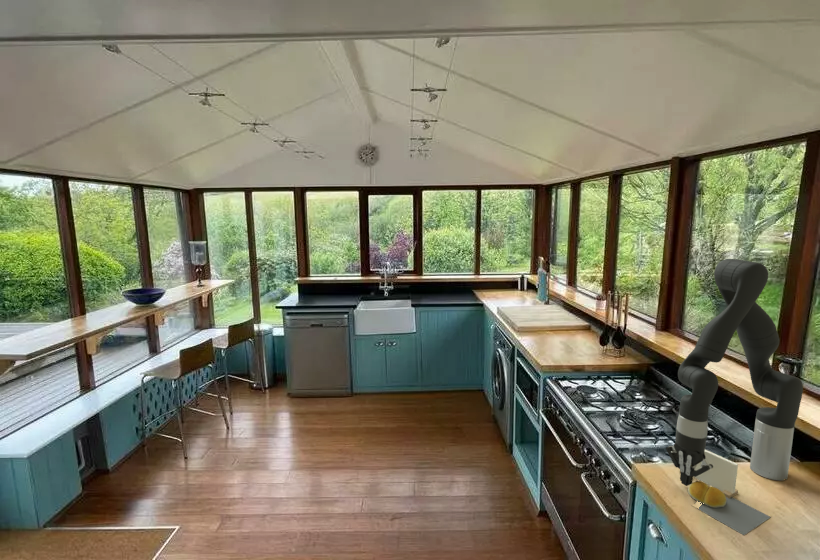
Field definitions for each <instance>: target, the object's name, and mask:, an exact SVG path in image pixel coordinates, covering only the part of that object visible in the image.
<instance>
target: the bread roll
mask: <svg viewBox="0 0 820 560" xmlns="http://www.w3.org/2000/svg"><path fill="white" fill-rule="evenodd" d="M687 493H688V495H689V497H691V498H692V499H693V500H695V501H696V502H697V501H698V502H701V503H704V504H705V505H707V506H709V507H714V508H717V507H724V506H725V505H726V497H725V495H724V493H723V492H722V491H720V490H719V489H717V488H715V487H712V486H710V485H708V484H706V483H704V482H703V481H701V480H699V481H698V480H697V481H694V482H692V484H690V485H688V488H687Z"/></svg>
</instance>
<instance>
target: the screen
mask: <svg viewBox="0 0 820 560" xmlns="http://www.w3.org/2000/svg"><path fill="white" fill-rule="evenodd" d="M704 454H705V456H706V458H705V460H706V461H707V462H708V463H709V464H712V465H713V468H712V469H710V470H708V471H706V472H704V473H702V474H700V475H698V476H696V477H694V476H693V478H695V479H696V480H699V481H701V482H703V483H705V484H707V485H708V486H709V487H715V488H717V489H719V490H720V491H722V492H723V493H724V495H725V497H727V498H730V497H733V498H734V496H736V495H738V494H739V490H738V489H737V488H736V487H737V485H736V484H737V477H738V467H739V464H738V463H736V462H734V461H733V460H730V459H729V458H728V459H727V458H725V457H724V456H721V455H719V454H716V453H714V452H712V451H710V450H708V449H705V451H704ZM701 464H702V462H700V463H699V464H697V466H696V468H695V470H696V471H697V470H698V469H700V468H701ZM680 474H681V471H680V470H679V475H680Z"/></svg>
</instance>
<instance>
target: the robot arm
mask: <svg viewBox="0 0 820 560" xmlns="http://www.w3.org/2000/svg"><path fill="white" fill-rule="evenodd" d="M713 275H714V282H715V284H716V287H717V289H718V291H719V294H721V297H722V298H723V300H724V302H725V304H726V306H727V307H726V308H725V309H724V310H722V311H721V312H720V313H719V314H717V315H715V317H714V318H712V319H711V320H709V322H708V323H706V325H705V326H704V327H703V329H702V331H701V333H700V335H699V337H698V339H697V340H696V341H697V342H696V344H695V346H694V348H693V349H692V351H691V352H690V353H689V354H688V355H687V356H686V358H684V360H683V361H682V362H681V364H680V365H679V367H678V370H677V378H678V380H679V382H680V383H681V384H683V385H684V386H686V387H688V388H689V389H690V390H692V391H691V394H685V395H683V396H682V397H681V398H680V403H679V410H678V417H677V421H676V422H677V423H676V429H675V442H674V444H673V445H669V446H667V447H665V450H666V452H667V454H668V455H669V458H670V459H671V463H672V464H673V465H674V467H675V468H678V469H679V472H680V471H681V474H680V473H679V475H680V477H679V479H680V480H679V481H681V484H682V485H684V486H686V487H689V486H690V485H691V484H692V483H693V481H694V478H695V477H696V476H698V475H700V474H702V473H704V472H706V471H708V470H710V469H712V468H713V465H712V464H709V463H708V462H707V461H706V460H705V458H706V456H705V454H704V451H705V450H706V446H707V445H706V444H707V436H708V429H709V427H708V426H709V425H708V421H709V420H708V419H709V410H710V406H711V404H712V402H713V399H714V398H715V395H716V394H717V391H718V390H719V389H718V388H719V380H718V379H719V378H718V377H717V375H716V374H715V372H713V371H711V370H709V369H707V368H706V367H707V366H708V365H709V364H710V363H711V362H712V363H716V364H717V363H720V362H721V361H722V360H723V358H724V356H725V354H726V352H727V349H728V347H729V345H730V342H731V340H732V338H733V337H734V335H735V333H737V334H736V335H737V336H738V340H739V342H740V344H741V346H742V349H743V352H744V354H745V359H746V361H747V365H748V369H749V374H750V375H749V376H750V380H751V384H752V387H753V390H754V392H755V393H756V394H757V395H758V396H760V397H762V398H764V399H768V400H770V401H773V402H776V407H771V406H770V407H769V406H767V407H766V406H765V407H759V408H758V409H756V410H757V411H756V414H755V415H756V416H755V421H754V429H753V431H754V432H753V439H752V448H751V455H750V464H749V467H750V470H751V471H753V472H754V473H756V474H757V475H759V476H761V477H763V478H766V479H769V480H773V481H785V480H784V479H786V480H788V478H789V477H788V476H789V468H790V462H791V454H792V449H793V448H792V447H793V439H794V432H795V425H796V421H797V419H798V416H799V412H800V406H801V402H802V397H803V393H804V385H803V382H802V380H801V379H800V378H799V377H796V376H794V375H790V374H788V373H783V372H781V371H777V370H775V369H773V368H772V366H771V364H770V358H771V356H773V355H774V353H776V351H777V349H778V348H779V345H780V337H779V333H778V330H777V328H776V324H775V322H774V321H773V319H772V317H771V316H770V315H769V313H767V312H766V311H765V309H763V308H762V307H761V306H760V305H759V304H758V303H757V302H756V301H757V300H758V299H759V297H760V296H761V294H762V292H763V290H764V289H765V287H766V285H767V282H768V279H769V269H768V268H767V267H766V265H765V264H763V263H759V262H755V261H749V260H744V259H743V260H742V259H737V258H725V259H722V260H721V261H719V262H718V263H717V264H716V266H715V268H714V274H713ZM700 462H702V464H701V468H700V469H698V470H697V471H696V470H695V468H696V466H697V464H699V463H700ZM693 476H694V477H693Z"/></svg>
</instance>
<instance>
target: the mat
mask: <svg viewBox="0 0 820 560" xmlns="http://www.w3.org/2000/svg"><path fill="white" fill-rule="evenodd" d="M700 504H701V503H700ZM698 510H699V511H700V510H701V512H702V513H704V514H706V515H708V516H709V517H711V518H713V519H714V520H716V521H717V522H719V523H722V524H723V525H725V526H727V527H728V528H730V529H732V530H733V531H735V532H737V533H739V534H741V535H742V536H746V535H747V534H748V533H750V532H751V531H753V530H754V529H756V528H758V527H759V526H760V525H762V524H763V523H765V522H766V521H768V520H769V519H770V518H771V516H769V515H768V514H766V513H764V512H762V511H760V510H758V509H756V508H754V507H752V506H751V505H749V504H746V503H745V502H743V501H741V500H739V499H736V498H735V497H734V496H733V497H730V498H727V497H726V505H725V506H724V507H717V508H714V507H709V506H707V505H705V504H703V503H702V505H701V506H700V507H699V509H698Z"/></svg>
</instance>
